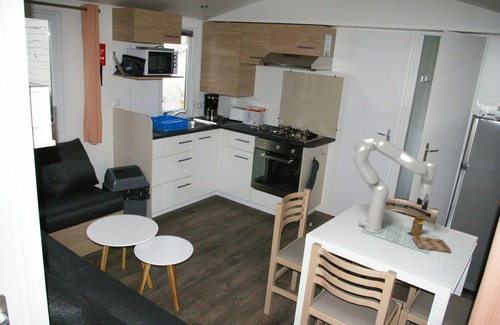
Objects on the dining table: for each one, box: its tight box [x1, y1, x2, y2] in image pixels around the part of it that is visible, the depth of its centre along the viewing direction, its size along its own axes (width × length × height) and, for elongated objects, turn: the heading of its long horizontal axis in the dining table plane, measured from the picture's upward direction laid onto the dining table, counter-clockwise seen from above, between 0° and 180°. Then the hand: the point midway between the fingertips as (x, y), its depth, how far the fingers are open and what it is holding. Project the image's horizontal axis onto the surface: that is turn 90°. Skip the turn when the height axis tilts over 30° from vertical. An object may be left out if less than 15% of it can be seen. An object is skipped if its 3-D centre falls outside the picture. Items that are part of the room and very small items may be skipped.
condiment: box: [406, 215, 425, 237], centre depth 251 cm, size 7×8×12 cm
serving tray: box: [411, 236, 451, 254], centre depth 238 cm, size 18×13×2 cm
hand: (421, 207), depth 248 cm, fingers open, 9 cm apart
